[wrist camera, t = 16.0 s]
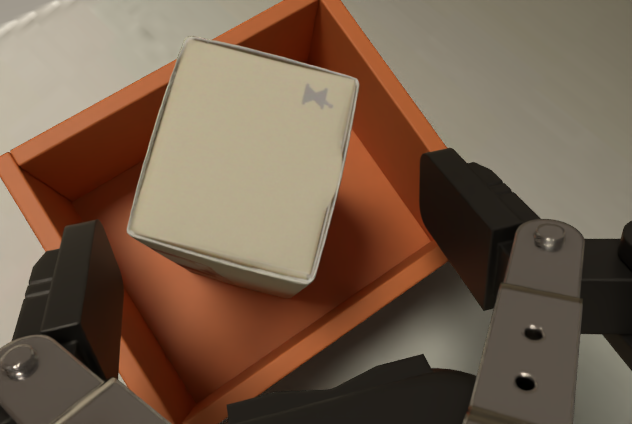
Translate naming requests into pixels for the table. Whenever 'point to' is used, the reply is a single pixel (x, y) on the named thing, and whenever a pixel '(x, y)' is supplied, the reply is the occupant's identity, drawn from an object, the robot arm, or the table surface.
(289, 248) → the small printed carton
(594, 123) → the table surface
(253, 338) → the bin
